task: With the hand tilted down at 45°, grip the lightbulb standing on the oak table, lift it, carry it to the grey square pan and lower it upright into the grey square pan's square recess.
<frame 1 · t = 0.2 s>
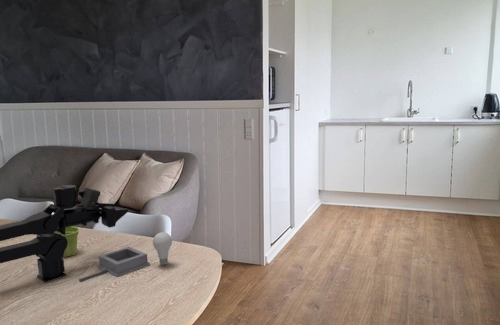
hand: (120, 207, 150), 17 cm above the table, tool horizontal, fingers open, 9 cm apart
lightbulb: (163, 265, 142), on the table
plant pot: (67, 254, 153), on the table
grey square pan: (123, 266, 141), on the table
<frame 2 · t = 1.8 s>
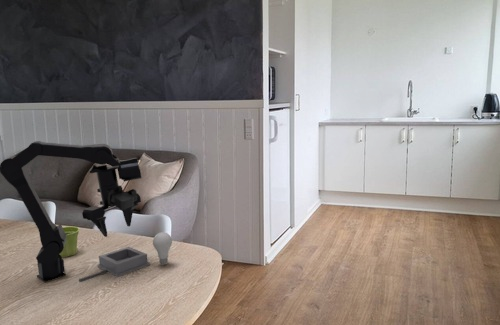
hand: (117, 231, 138), 12 cm above the table, tool pointing down, fingers open, 9 cm apart
nothing on the table moved.
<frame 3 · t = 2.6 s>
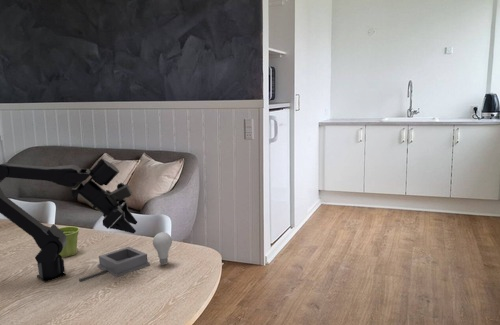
hand: (135, 227, 138), 13 cm above the table, tool tilted 45°, fingers open, 9 cm apart
nothing on the table moved.
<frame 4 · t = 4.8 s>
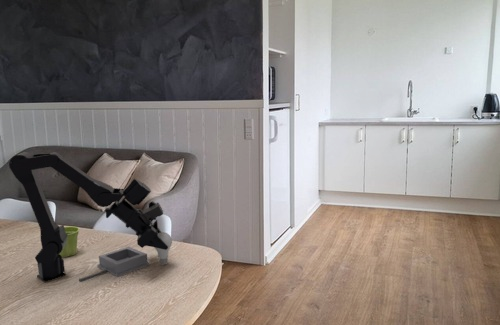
hand: (167, 245, 141), 7 cm above the table, tool tilted 45°, fingers closed on lightbulb, 6 cm apart
lightbulb: (163, 265, 142), on the table, touching gripper
everything else where it was.
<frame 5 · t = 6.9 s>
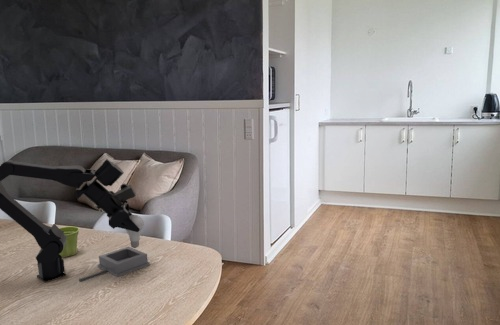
hand: (138, 228, 140), 13 cm above the table, tool tilted 45°, fingers closed on lightbulb, 6 cm apart
lightbulb: (135, 248, 140), point 6 cm above the table, touching gripper
everything else where it was.
when the fingers open (8 cm above the table, at t = 8.6 s): lightbulb stays where it is, resting on grey square pan.
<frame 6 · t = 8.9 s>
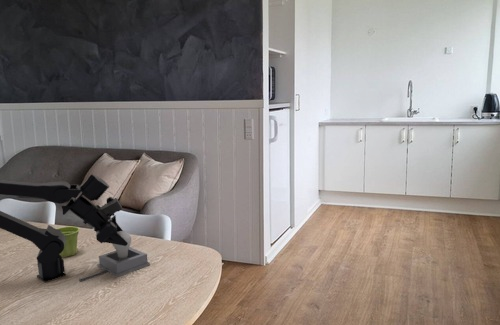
hand: (126, 240, 140), 9 cm above the table, tool tilted 45°, fingers open, 8 cm apart
lightbulb: (123, 264, 141), point 1 cm above the table, touching grey square pan
everything else where it was.
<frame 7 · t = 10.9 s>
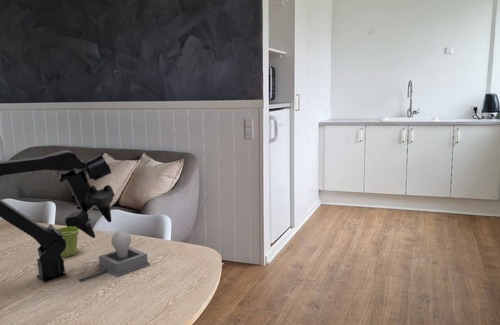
hand: (102, 229, 141), 12 cm above the table, tool tilted 20°, fingers open, 9 cm apart
nothing on the table moved.
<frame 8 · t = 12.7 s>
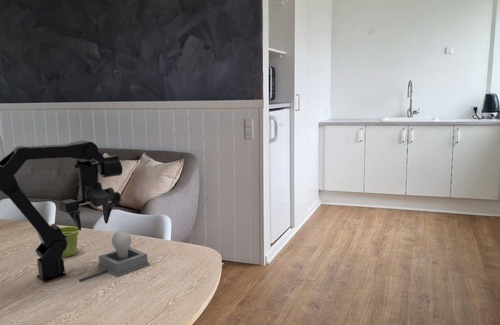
hand: (93, 226, 141), 13 cm above the table, tool pointing down, fingers open, 9 cm apart
nothing on the table moved.
at the end: lightbulb 0.0 cm from the grey square pan (horizontally); lightbulb tilted 0°; the gripper is holding nothing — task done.
